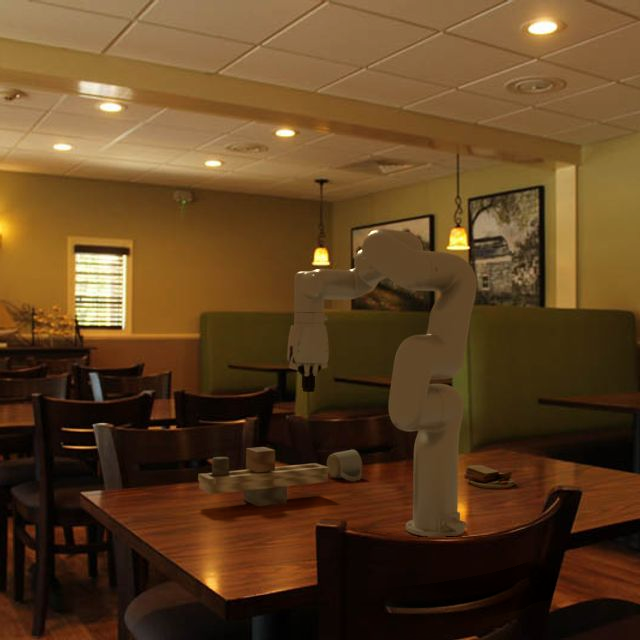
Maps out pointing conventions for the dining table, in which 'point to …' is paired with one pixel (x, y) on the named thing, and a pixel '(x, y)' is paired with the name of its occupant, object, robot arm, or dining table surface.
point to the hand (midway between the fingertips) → (308, 391)
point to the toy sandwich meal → (488, 477)
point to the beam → (260, 481)
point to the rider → (260, 459)
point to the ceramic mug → (345, 465)
